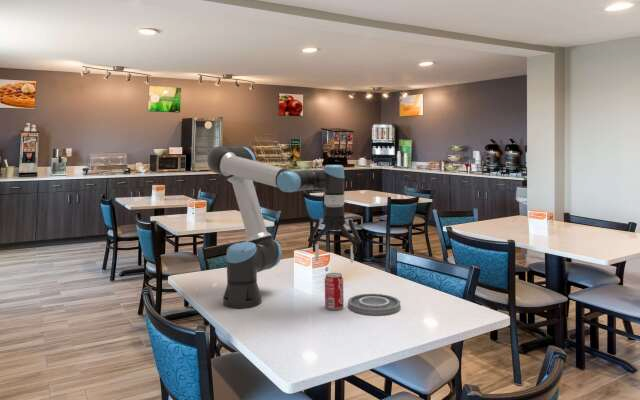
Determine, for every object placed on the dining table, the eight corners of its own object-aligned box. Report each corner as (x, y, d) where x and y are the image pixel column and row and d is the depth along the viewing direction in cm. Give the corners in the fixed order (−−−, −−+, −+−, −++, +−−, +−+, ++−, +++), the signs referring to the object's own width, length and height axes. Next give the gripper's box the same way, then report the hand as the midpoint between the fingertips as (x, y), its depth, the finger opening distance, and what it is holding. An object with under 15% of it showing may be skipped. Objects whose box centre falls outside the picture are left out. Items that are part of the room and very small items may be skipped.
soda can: (341, 311, 177) (341, 277, 176) (323, 310, 179) (323, 276, 178) (344, 305, 184) (344, 272, 183) (326, 304, 186) (326, 272, 185)
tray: (344, 313, 175) (344, 307, 174) (352, 297, 194) (352, 291, 194) (399, 317, 171) (399, 310, 170) (401, 300, 190) (401, 294, 190)
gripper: (299, 206, 177) (300, 261, 179) (366, 207, 172) (366, 264, 174) (304, 204, 184) (304, 257, 186) (368, 205, 179) (368, 260, 181)
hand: (334, 261), depth 180 cm, fingers open, 13 cm apart
